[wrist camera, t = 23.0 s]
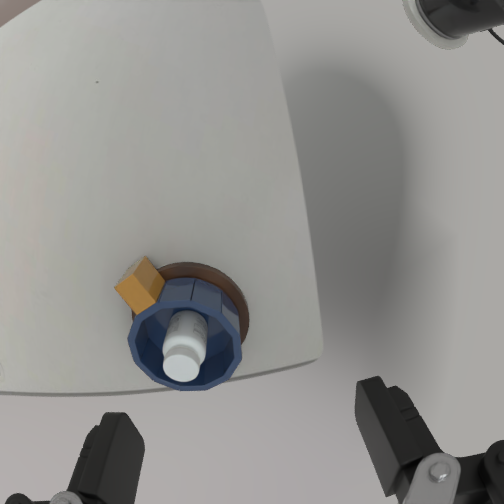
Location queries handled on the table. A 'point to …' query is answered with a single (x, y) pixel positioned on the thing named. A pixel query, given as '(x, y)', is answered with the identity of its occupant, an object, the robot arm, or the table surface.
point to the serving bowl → (160, 313)
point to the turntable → (214, 278)
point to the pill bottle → (185, 345)
